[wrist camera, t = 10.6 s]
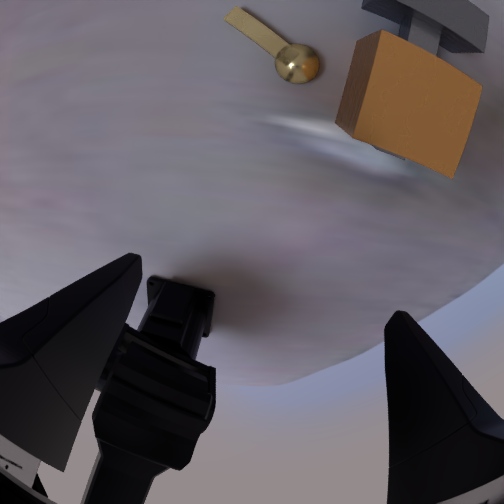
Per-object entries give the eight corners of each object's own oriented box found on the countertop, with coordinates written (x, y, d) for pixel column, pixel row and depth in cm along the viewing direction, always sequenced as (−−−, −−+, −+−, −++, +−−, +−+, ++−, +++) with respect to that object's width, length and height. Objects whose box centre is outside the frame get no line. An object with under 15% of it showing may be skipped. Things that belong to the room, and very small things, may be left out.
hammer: (419, 161, 17) (445, 181, 14) (330, 128, 17) (341, 141, 13) (457, 20, 10) (489, 16, 7) (368, -25, 10) (387, -45, 7)
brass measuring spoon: (325, 65, 14) (328, 64, 14) (297, 91, 16) (298, 91, 15) (246, 2, 12) (244, -2, 12) (218, 29, 14) (215, 26, 13)
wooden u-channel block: (418, 154, 17) (452, 178, 13) (334, 122, 16) (352, 137, 12) (441, 79, 13) (482, 86, 9) (356, 40, 13) (381, 29, 9)
